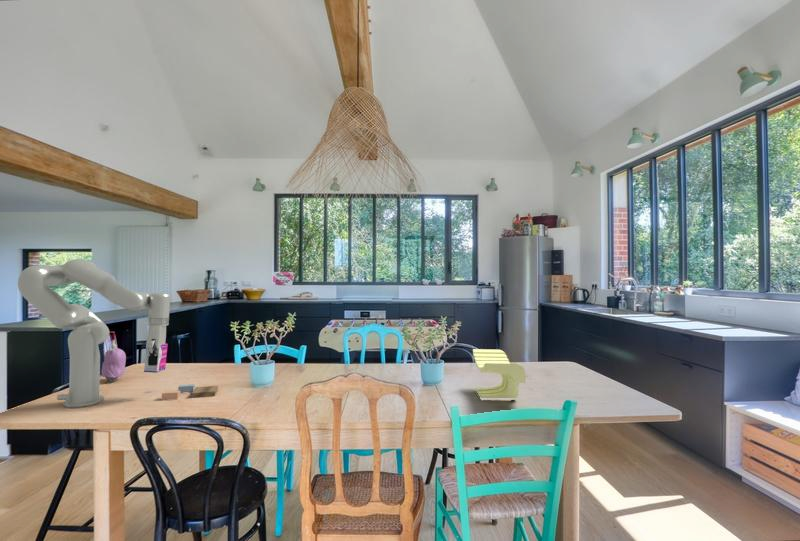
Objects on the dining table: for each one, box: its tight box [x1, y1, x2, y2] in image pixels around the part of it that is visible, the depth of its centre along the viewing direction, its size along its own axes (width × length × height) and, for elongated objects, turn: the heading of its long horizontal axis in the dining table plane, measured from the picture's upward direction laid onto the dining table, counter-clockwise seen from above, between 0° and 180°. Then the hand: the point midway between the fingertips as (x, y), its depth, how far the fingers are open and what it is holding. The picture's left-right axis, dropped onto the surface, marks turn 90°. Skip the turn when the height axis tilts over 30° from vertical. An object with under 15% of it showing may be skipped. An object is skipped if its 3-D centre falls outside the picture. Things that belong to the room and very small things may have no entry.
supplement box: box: [143, 343, 169, 373], centre depth 161 cm, size 6×6×12 cm
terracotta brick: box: [161, 390, 181, 401], centre depth 159 cm, size 6×3×3 cm, turn 102°
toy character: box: [100, 339, 127, 383], centre depth 186 cm, size 12×10×20 cm
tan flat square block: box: [190, 385, 219, 399], centre depth 166 cm, size 9×9×2 cm
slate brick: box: [177, 383, 196, 394], centre depth 169 cm, size 6×3×3 cm, turn 107°
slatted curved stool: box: [472, 348, 526, 399], centre depth 165 cm, size 30×16×18 cm, turn 178°
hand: (155, 363), depth 161 cm, fingers closed on supplement box, 7 cm apart
